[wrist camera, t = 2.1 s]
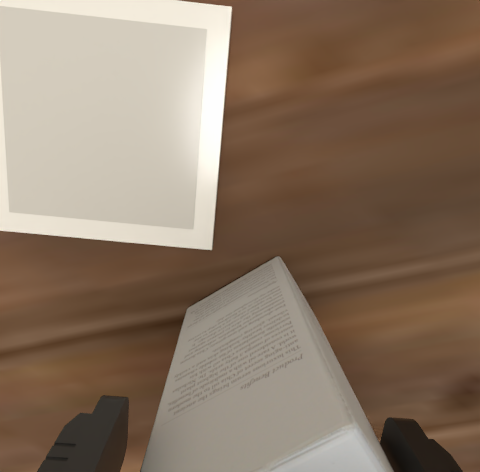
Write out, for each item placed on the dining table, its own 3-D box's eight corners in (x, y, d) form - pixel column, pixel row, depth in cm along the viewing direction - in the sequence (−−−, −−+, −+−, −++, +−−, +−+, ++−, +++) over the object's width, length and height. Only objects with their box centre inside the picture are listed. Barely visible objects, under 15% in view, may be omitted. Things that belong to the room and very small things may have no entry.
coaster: (232, 13, 16) (231, 6, 15) (212, 245, 18) (211, 250, 18) (-15, -15, 15) (-29, -24, 15) (1, 226, 18) (-10, 229, 17)
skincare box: (226, 364, 20) (212, 656, 9) (185, 306, 19) (107, 544, 8) (318, 314, 19) (440, 557, 8) (280, 251, 19) (354, 420, 7)
